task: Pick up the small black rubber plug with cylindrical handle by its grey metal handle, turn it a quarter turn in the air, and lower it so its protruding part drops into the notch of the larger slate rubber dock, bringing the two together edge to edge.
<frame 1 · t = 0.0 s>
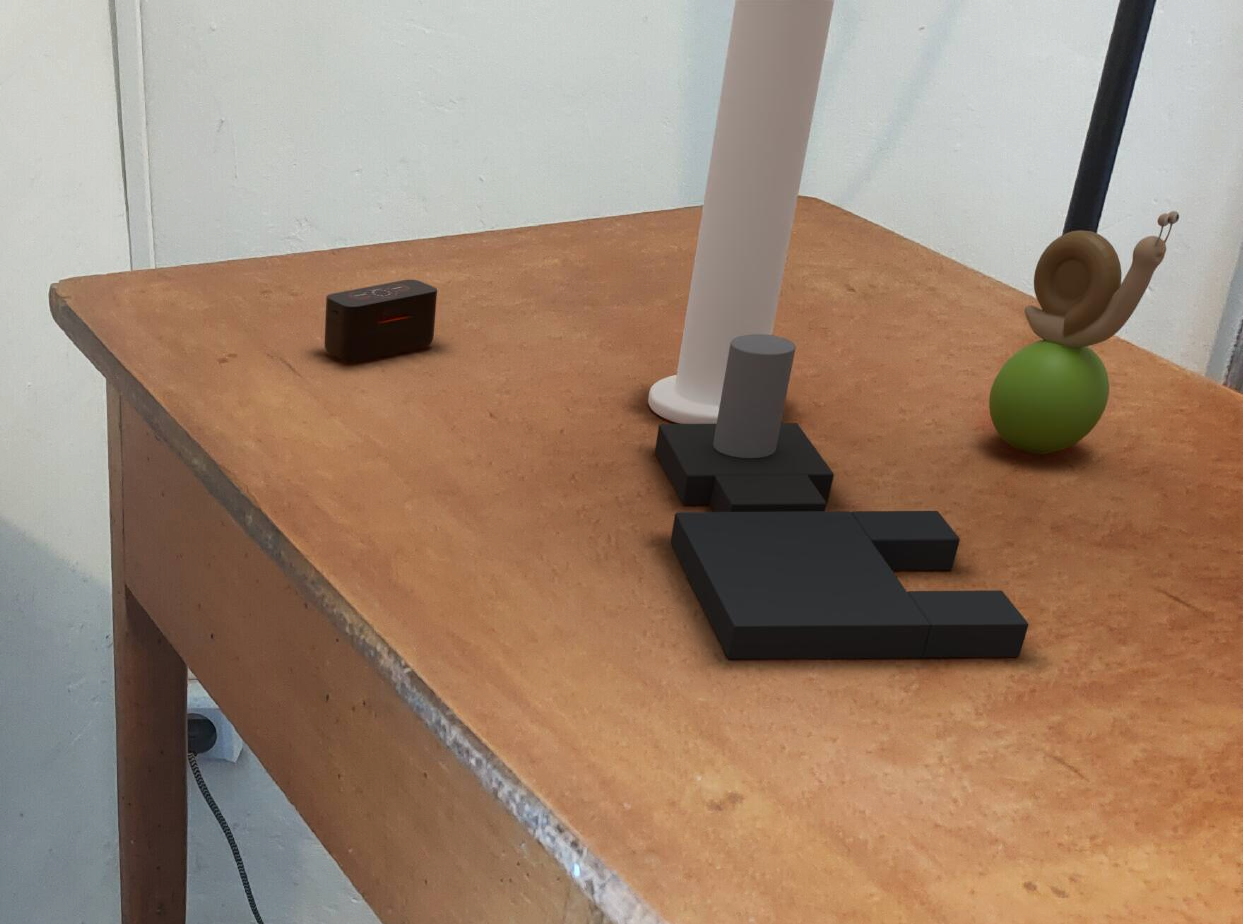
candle: (714, 411, 101), on the table
dock pad: (834, 597, 83), on the table
black bluetooth speaker: (381, 349, 110), on the table
snail figurine: (1040, 456, 96), on the table
plug with cylindrical handle: (738, 477, 93), on the table
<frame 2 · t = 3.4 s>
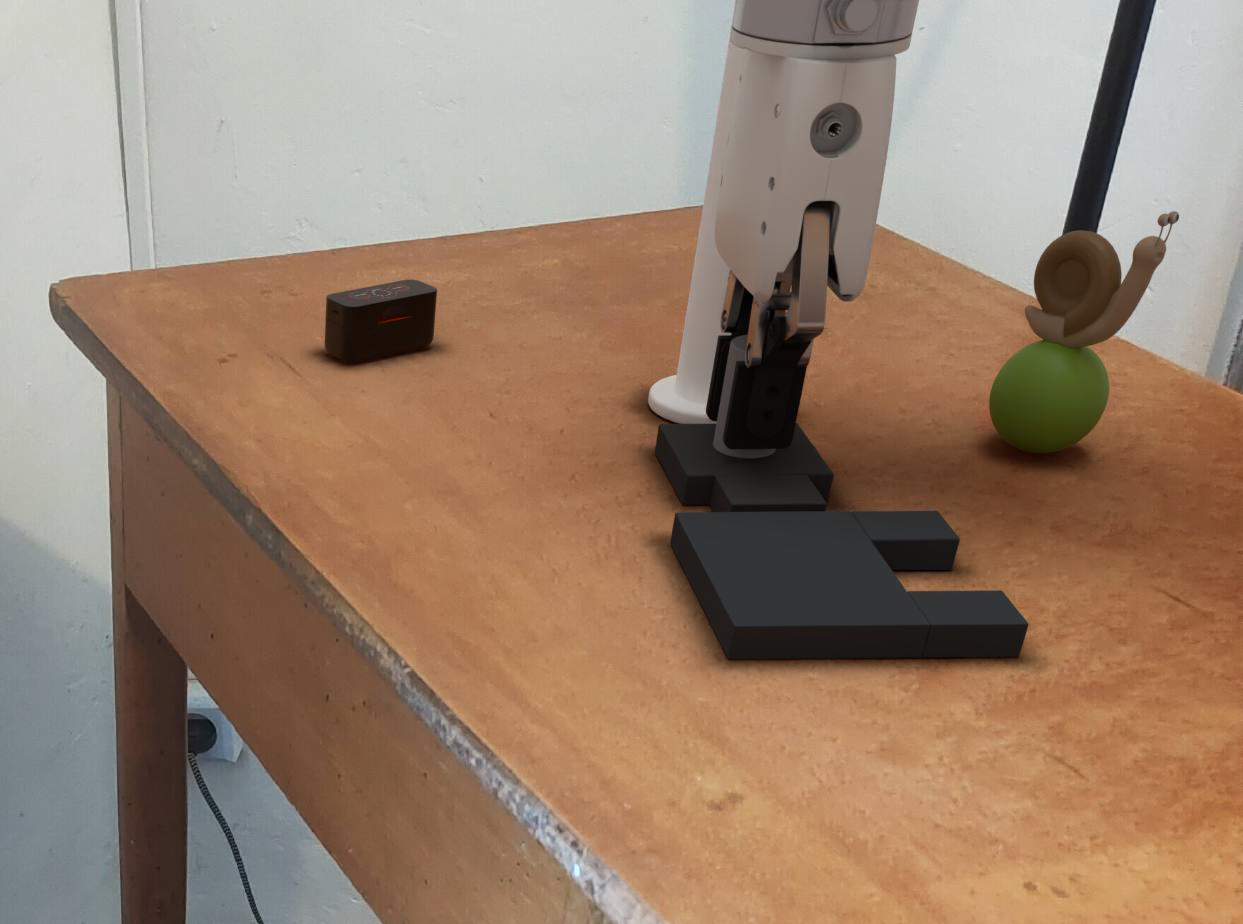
hand: (747, 429, 92), 2 cm above the table, tool pointing down, fingers closed on plug with cylindrical handle, 3 cm apart
plug with cylindrical handle: (738, 477, 93), on the table, touching gripper
everything else where it was.
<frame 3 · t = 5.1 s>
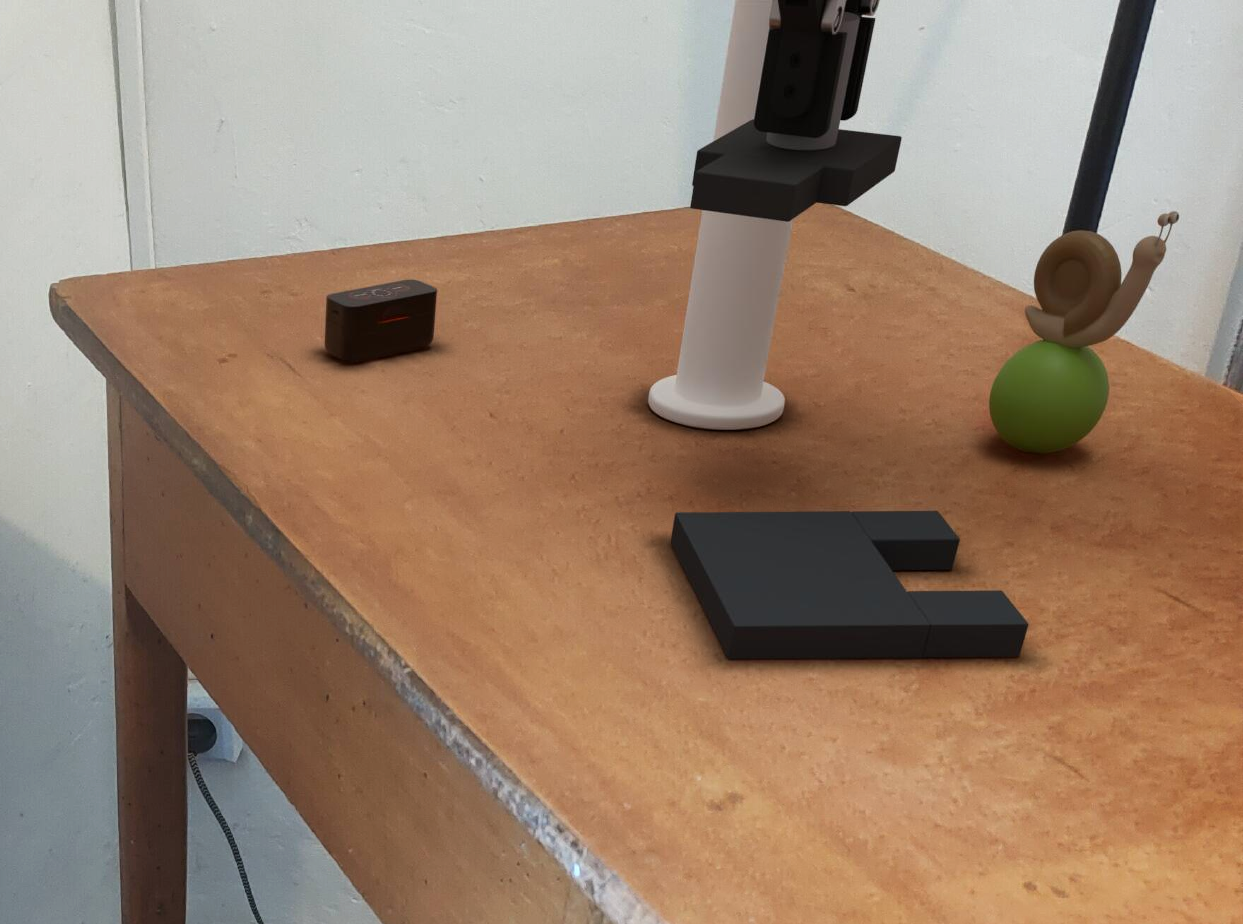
hand: (805, 120, 83), 16 cm above the table, tool pointing down, fingers closed on plug with cylindrical handle, 3 cm apart
plug with cylindrical handle: (793, 179, 85), point 14 cm above the table, touching gripper
everything else where it was.
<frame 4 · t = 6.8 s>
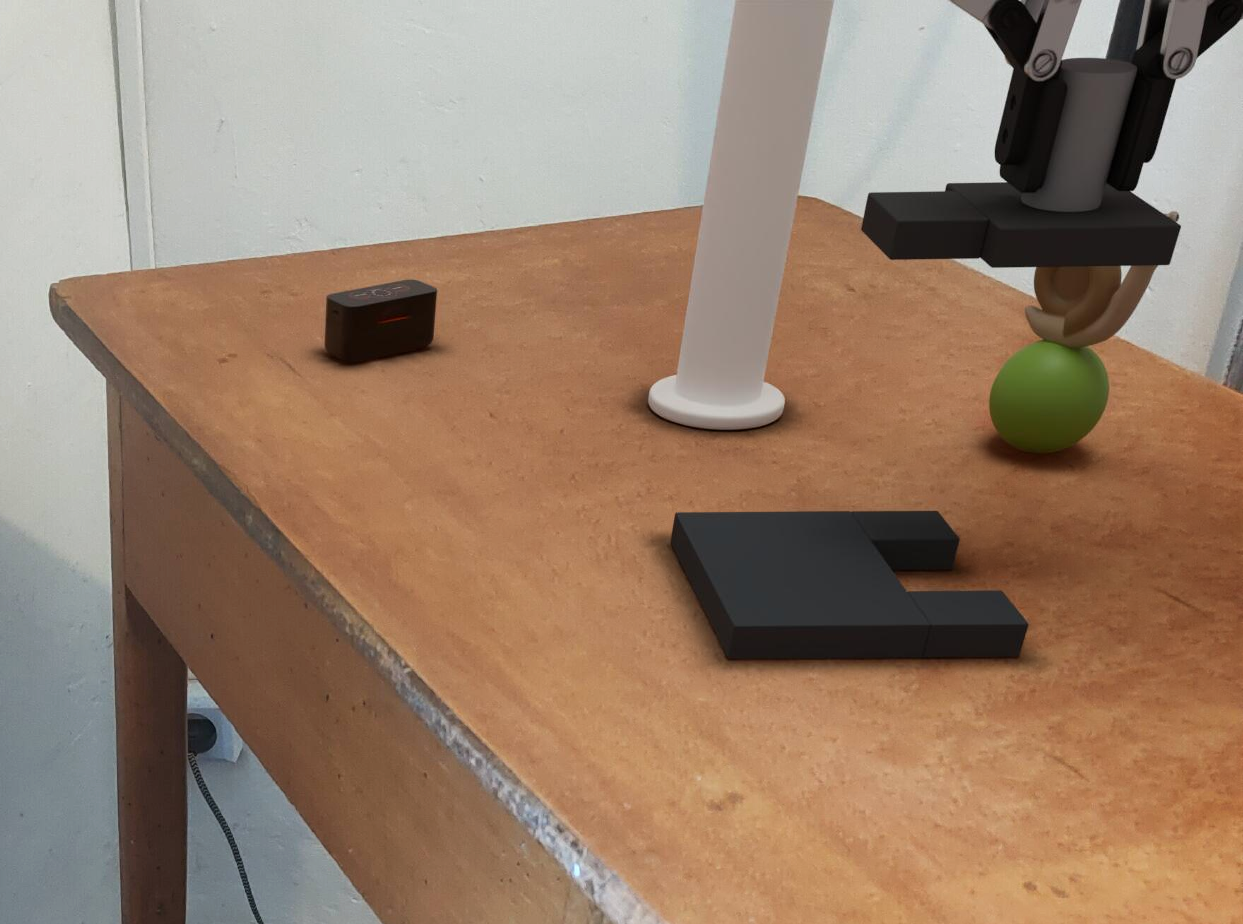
hand: (1066, 179, 76), 16 cm above the table, tool pointing down, fingers closed on plug with cylindrical handle, 3 cm apart
plug with cylindrical handle: (1049, 242, 77), point 14 cm above the table, touching gripper
everything else where it was.
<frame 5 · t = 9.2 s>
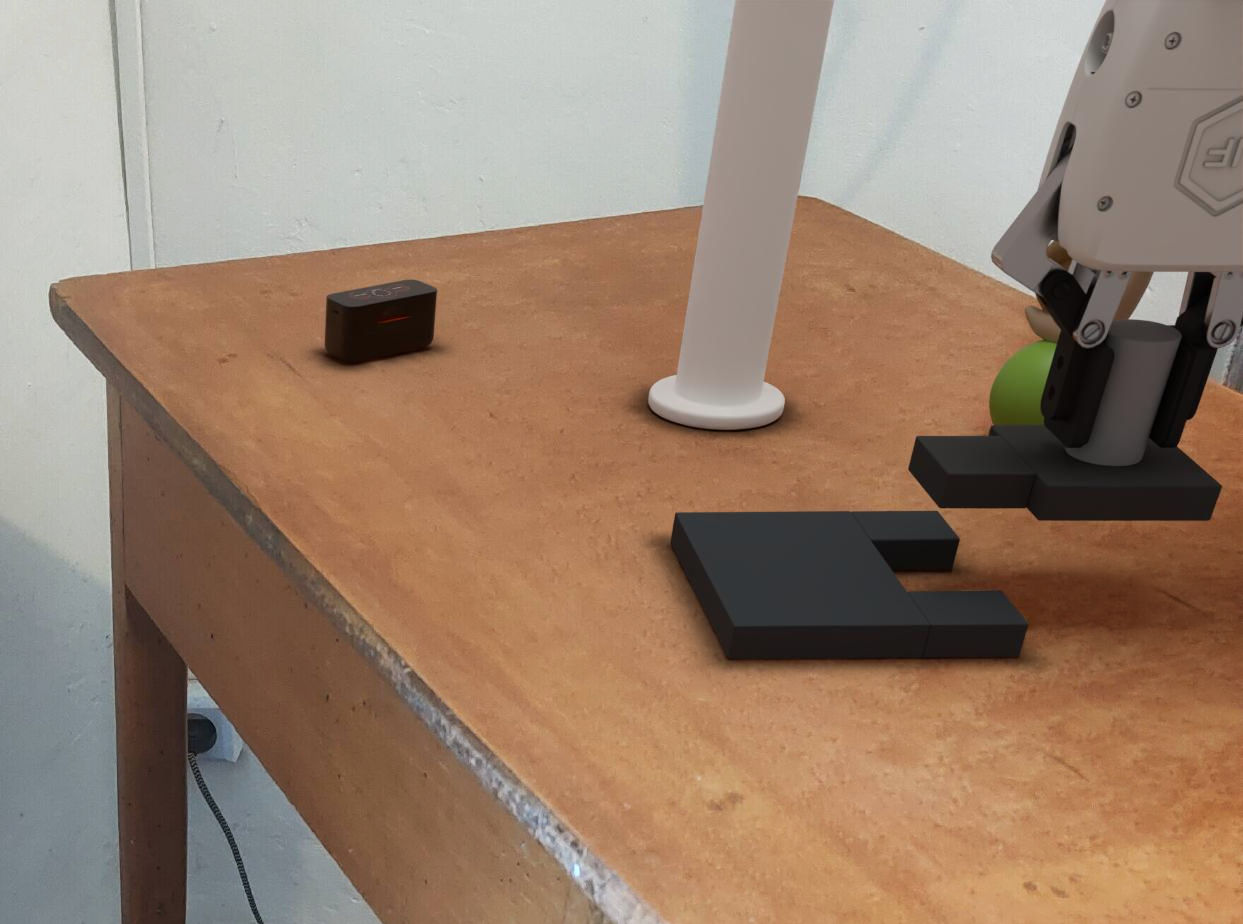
hand: (1109, 432, 78), 7 cm above the table, tool pointing down, fingers closed on plug with cylindrical handle, 3 cm apart
plug with cylindrical handle: (1091, 489, 79), point 5 cm above the table, touching gripper
everything else where it was.
when the fingers open (2 cm above the table, at t = 10.6 s): plug with cylindrical handle stays where it is, on the table.
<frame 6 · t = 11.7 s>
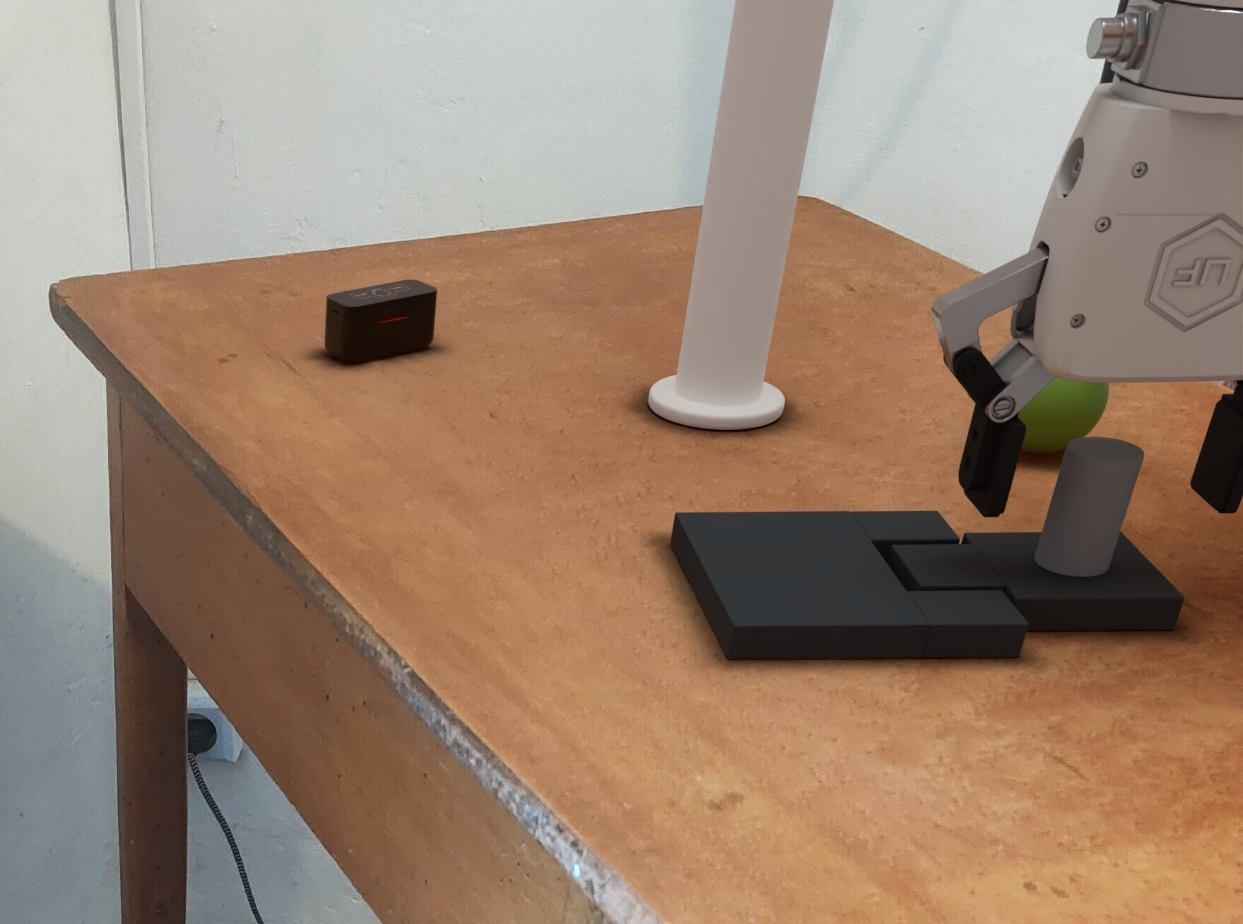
hand: (1096, 503, 80), 4 cm above the table, tool pointing down, fingers open, 9 cm apart
plug with cylindrical handle: (1061, 596, 82), on the table
everything else where it was.
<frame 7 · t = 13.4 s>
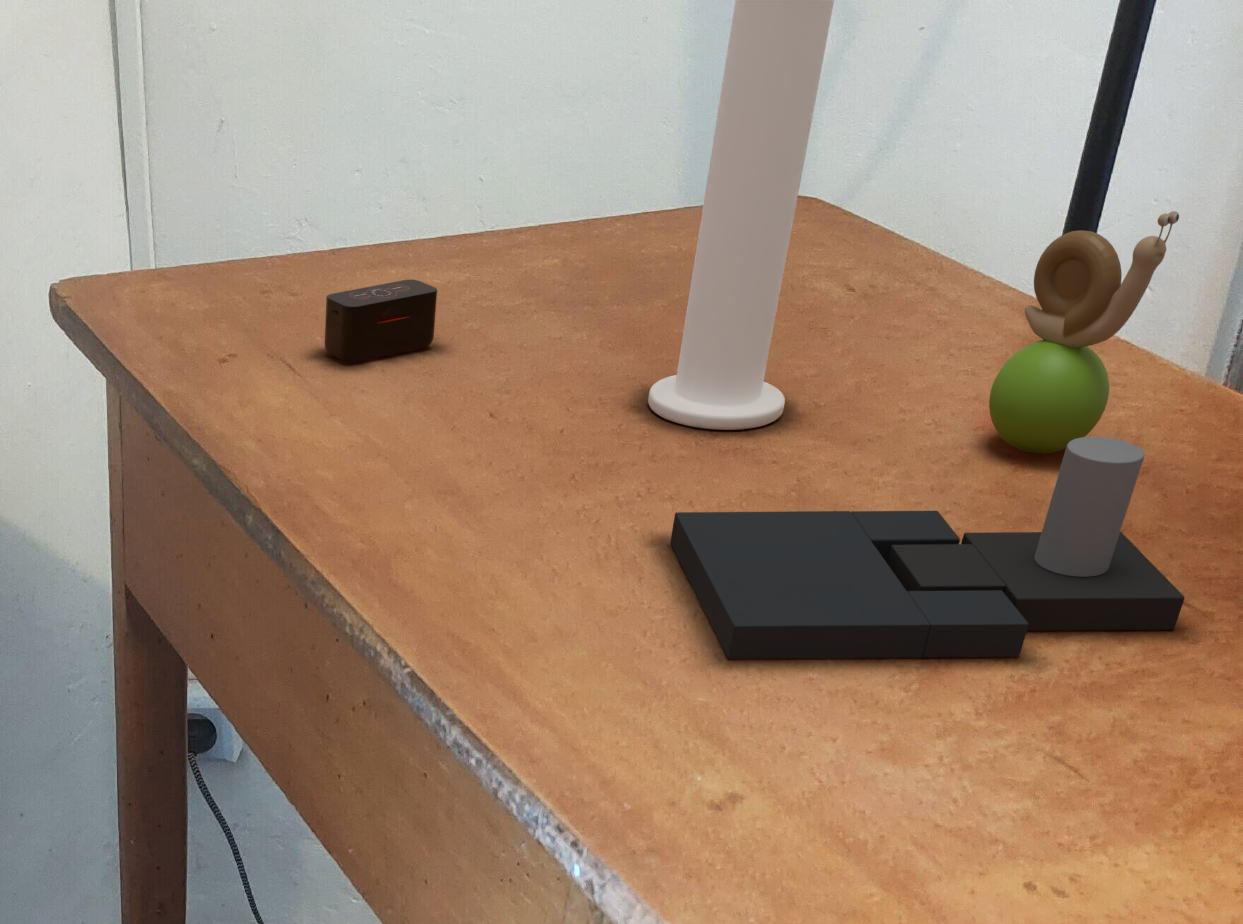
nothing on the table moved.
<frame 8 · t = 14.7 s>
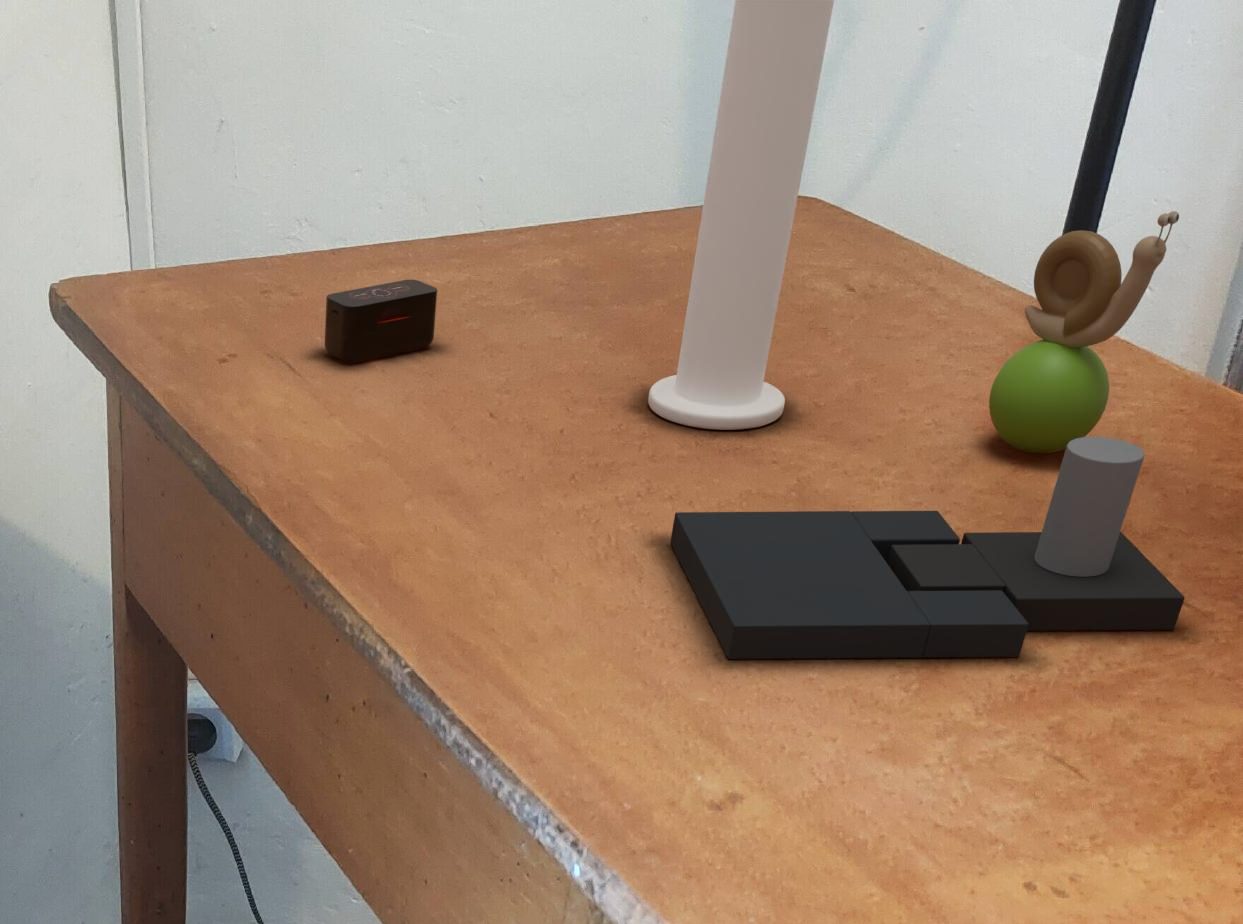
nothing on the table moved.
at the end: plug with cylindrical handle 0.5 cm from the target spot on the table beside the dock pad, on the table; plug with cylindrical handle tilted 0° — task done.
